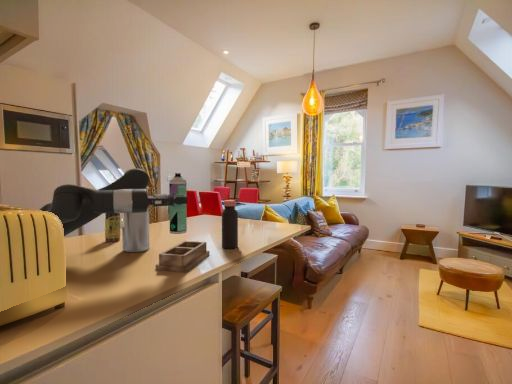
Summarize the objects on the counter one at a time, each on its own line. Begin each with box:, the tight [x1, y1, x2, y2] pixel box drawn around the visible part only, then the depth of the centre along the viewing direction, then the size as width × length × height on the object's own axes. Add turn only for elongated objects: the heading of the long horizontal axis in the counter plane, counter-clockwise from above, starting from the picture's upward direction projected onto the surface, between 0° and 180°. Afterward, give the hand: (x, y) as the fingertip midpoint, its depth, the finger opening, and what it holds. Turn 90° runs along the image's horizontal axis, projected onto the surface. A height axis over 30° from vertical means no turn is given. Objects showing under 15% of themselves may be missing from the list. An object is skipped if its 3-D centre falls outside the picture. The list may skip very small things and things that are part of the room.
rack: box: [155, 240, 210, 273], centre depth 94 cm, size 11×19×5 cm, turn 168°
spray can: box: [168, 172, 188, 235], centre depth 88 cm, size 6×6×20 cm
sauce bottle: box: [104, 213, 121, 243], centre depth 122 cm, size 7×6×20 cm
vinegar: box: [221, 199, 239, 250], centre depth 112 cm, size 7×7×20 cm
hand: (185, 199), depth 89 cm, fingers closed on spray can, 5 cm apart
